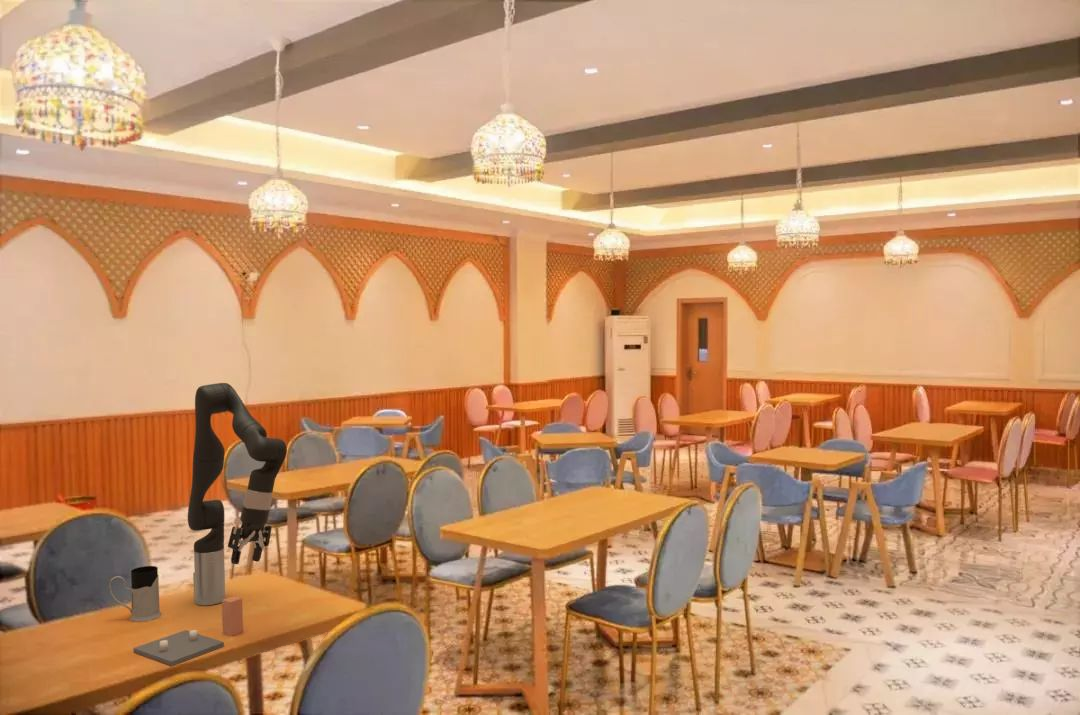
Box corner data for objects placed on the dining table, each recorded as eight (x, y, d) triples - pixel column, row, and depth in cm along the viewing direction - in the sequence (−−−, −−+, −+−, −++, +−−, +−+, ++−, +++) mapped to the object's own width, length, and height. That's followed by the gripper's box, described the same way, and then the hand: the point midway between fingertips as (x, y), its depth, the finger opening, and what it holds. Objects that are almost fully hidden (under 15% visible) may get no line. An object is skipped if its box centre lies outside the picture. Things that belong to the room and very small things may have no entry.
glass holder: (160, 619, 255) (158, 571, 255) (109, 626, 250) (107, 577, 250) (162, 610, 263) (160, 564, 263) (112, 616, 258) (110, 569, 258)
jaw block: (222, 633, 242) (221, 599, 242) (234, 629, 246) (233, 596, 245) (231, 636, 240) (230, 602, 240) (243, 631, 244) (242, 598, 243)
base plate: (133, 652, 229) (133, 639, 229) (185, 634, 242) (185, 621, 242) (171, 666, 219) (171, 652, 219) (224, 646, 232) (223, 633, 232)
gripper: (263, 503, 246) (252, 557, 245) (229, 504, 233) (217, 561, 232) (283, 508, 243) (272, 563, 242) (249, 509, 230) (237, 567, 229)
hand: (245, 562), depth 237 cm, fingers open, 8 cm apart
